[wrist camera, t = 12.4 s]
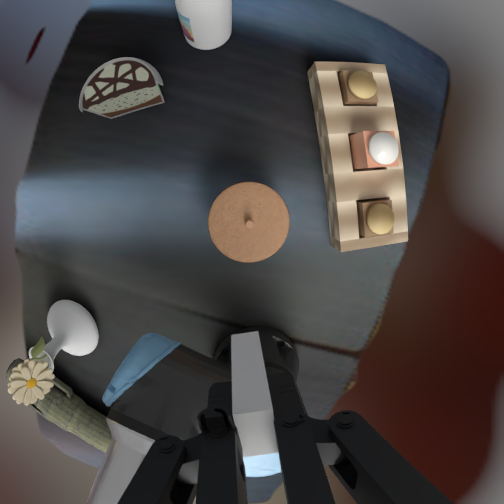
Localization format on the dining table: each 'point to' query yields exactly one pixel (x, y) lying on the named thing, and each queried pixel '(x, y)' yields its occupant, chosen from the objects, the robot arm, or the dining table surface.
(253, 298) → the dining table surface
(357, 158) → the middle button
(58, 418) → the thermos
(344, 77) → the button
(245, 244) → the lidded jar
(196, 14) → the milk bottle
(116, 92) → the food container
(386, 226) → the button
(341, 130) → the button mount
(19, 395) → the flower in vase
